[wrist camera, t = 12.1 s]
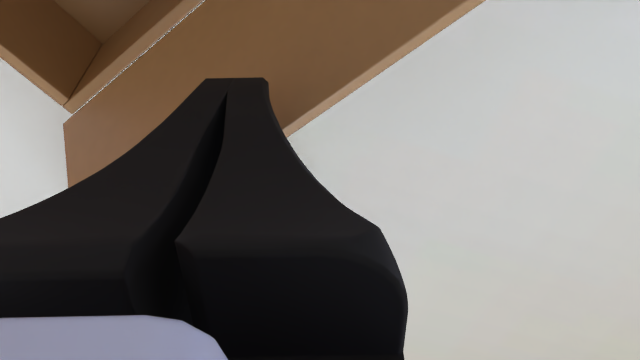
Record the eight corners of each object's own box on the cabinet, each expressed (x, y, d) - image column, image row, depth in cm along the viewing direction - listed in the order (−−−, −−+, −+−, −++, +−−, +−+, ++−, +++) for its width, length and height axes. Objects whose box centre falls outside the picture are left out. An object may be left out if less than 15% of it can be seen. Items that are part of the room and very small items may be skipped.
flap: (497, -22, 11) (503, -12, 12) (400, -169, 14) (407, -159, 14) (74, 275, 16) (86, 277, 16) (62, 123, 19) (72, 127, 19)
